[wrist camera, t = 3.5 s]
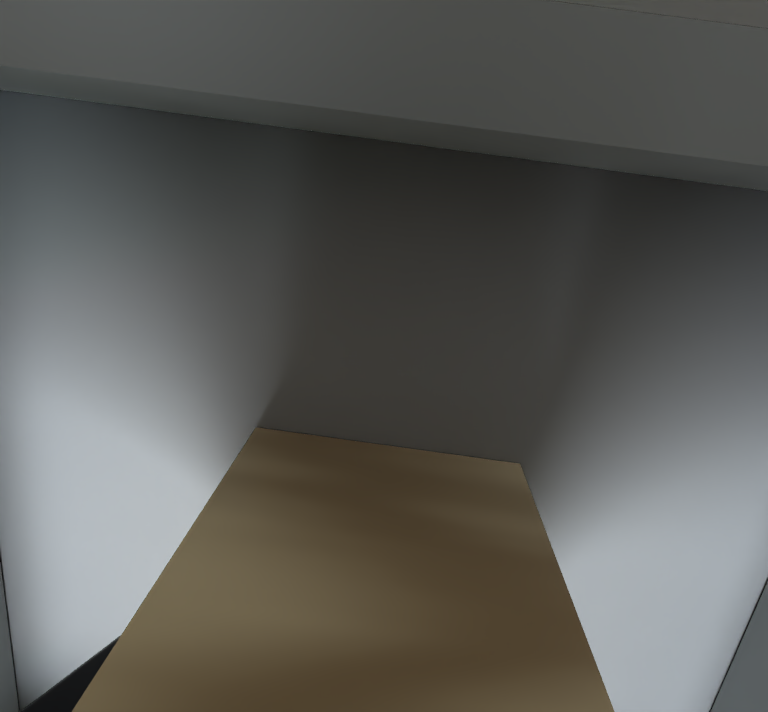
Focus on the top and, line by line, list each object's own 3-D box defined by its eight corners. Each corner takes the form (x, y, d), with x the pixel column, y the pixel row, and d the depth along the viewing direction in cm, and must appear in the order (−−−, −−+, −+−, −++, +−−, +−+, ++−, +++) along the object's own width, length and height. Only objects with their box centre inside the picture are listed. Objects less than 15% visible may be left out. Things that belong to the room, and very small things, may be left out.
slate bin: (1038, 145, 7) (1468, 118, 4) (677, 894, 12) (759, 1114, 9) (-143, -10, 7) (-510, -137, 4) (-13, 792, 12) (-142, 977, 9)
